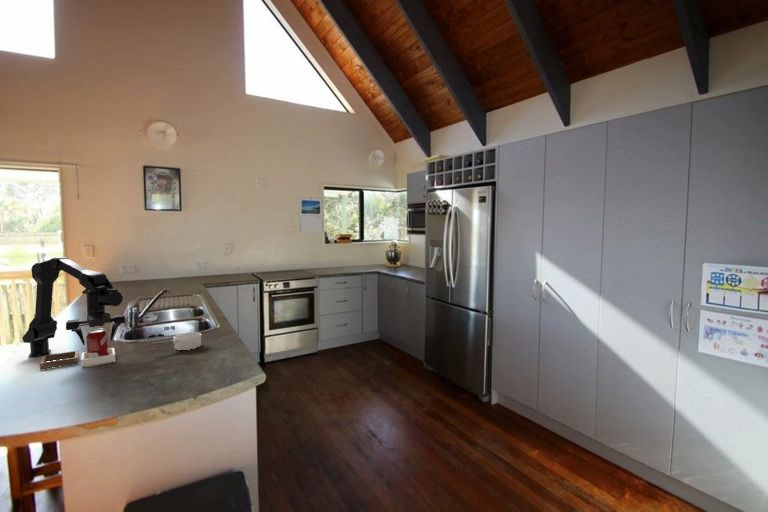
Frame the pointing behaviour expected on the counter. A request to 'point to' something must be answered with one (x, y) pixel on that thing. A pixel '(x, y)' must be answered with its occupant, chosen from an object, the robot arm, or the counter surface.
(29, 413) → the counter surface
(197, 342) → the saucepan
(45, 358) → the walnut holder
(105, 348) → the soda can
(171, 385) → the counter surface
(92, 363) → the rimmed tray
